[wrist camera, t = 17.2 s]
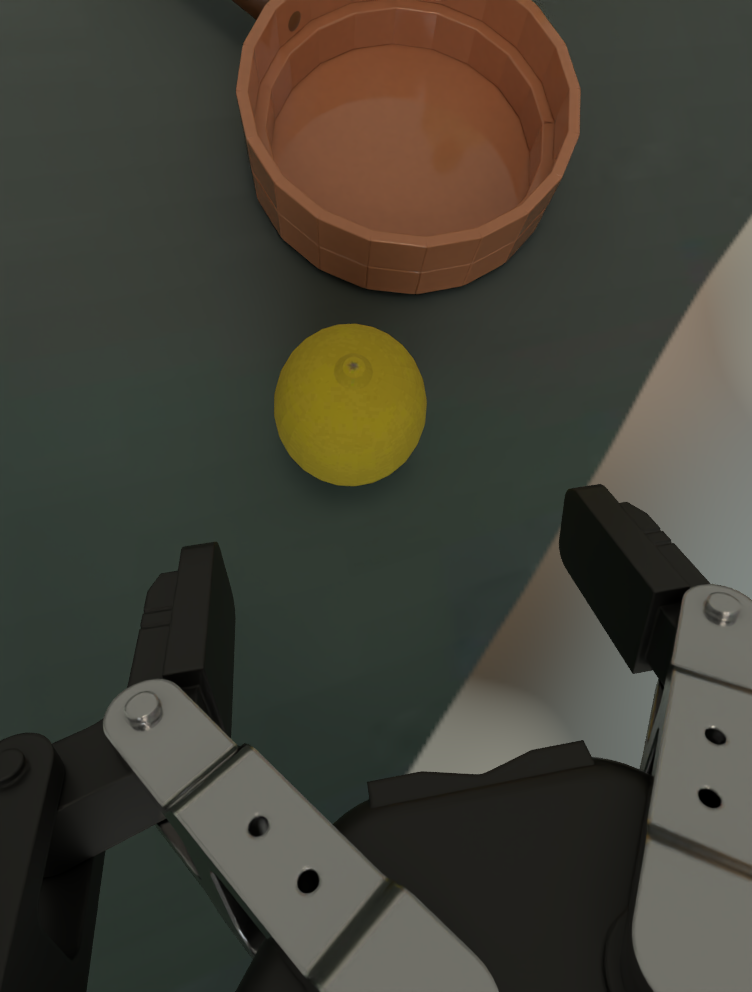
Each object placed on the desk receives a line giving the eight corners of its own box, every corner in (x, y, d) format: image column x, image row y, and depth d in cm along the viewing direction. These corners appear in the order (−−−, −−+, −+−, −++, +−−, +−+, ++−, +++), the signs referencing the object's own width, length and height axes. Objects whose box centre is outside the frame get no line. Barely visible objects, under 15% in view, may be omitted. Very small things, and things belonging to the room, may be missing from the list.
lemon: (416, 386, 27) (450, 294, 19) (405, 509, 26) (435, 465, 18) (291, 371, 27) (274, 271, 19) (274, 494, 26) (249, 443, 18)
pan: (186, 163, 28) (163, 90, 24) (385, -16, 31) (392, -107, 27) (419, 357, 27) (434, 315, 23) (605, 156, 30) (646, 87, 26)
